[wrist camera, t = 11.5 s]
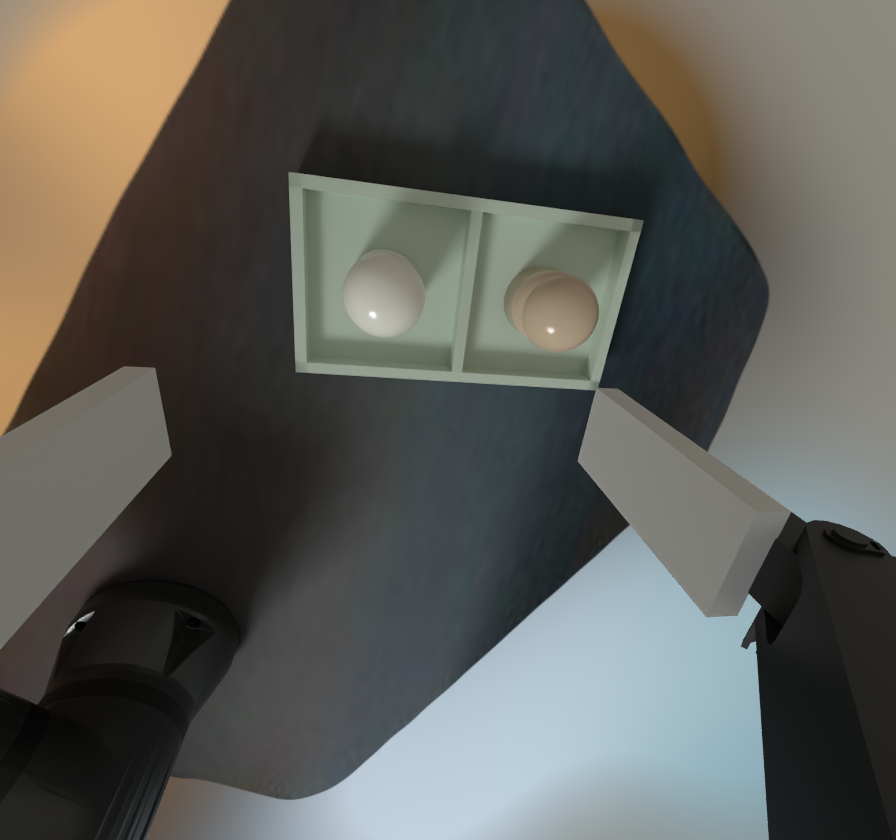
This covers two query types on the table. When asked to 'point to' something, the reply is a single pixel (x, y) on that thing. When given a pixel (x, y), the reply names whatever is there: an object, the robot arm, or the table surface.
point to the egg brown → (551, 308)
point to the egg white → (383, 293)
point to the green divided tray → (448, 281)
